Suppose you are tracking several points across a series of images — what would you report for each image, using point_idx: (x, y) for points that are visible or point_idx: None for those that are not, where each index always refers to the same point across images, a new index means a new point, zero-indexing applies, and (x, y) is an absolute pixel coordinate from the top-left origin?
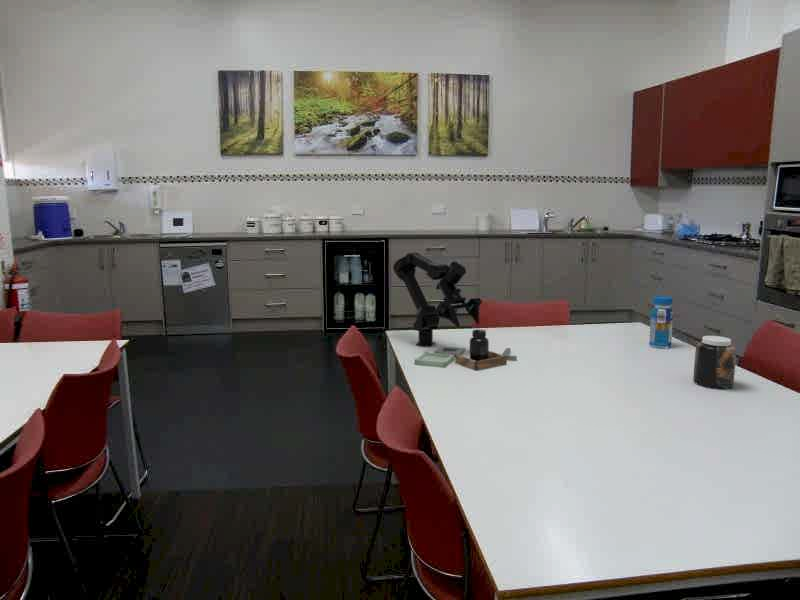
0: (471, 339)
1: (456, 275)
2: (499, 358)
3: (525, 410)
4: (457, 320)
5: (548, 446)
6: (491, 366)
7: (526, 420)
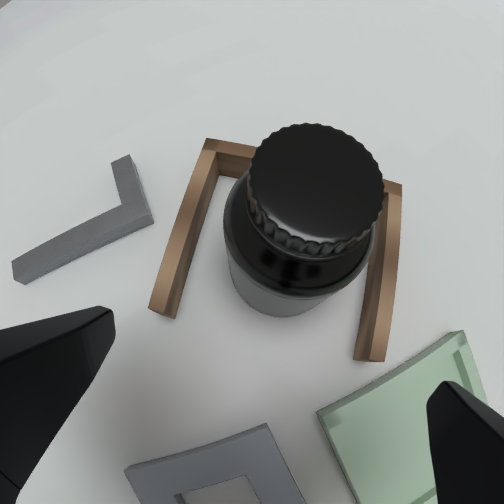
0: (366, 249)
1: None
2: (254, 148)
3: (455, 28)
4: (491, 416)
5: (482, 10)
6: None
7: (472, 26)
